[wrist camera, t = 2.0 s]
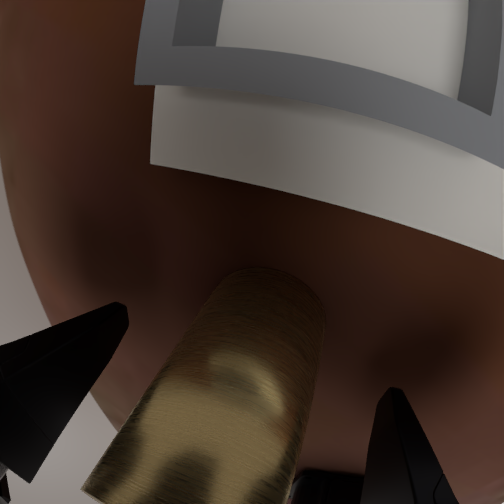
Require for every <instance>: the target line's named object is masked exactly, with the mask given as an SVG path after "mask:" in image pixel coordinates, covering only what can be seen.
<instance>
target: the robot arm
mask: <svg viewBox="0 0 504 504" xmlns="http://www.w3.org/2000/svg"><path fill="white" fill-rule="evenodd" d="M128 326H129V319H128V312H127V307H126V306H125V305H123V304H121V303H119V302H113V303H110V304H108V305H105V306H103V307H100V308H98V309H95V310H92V311H90V312H87V313H85V314H82V315H80V316H77V317H75V318H72V319H69V320H67V321H64V322H62V323H59V324H57V325H54V326H52V327H49V328H47V329H44V330H42V331H39V332H36V333H34V334H32V335H29V336H26V337H24V338H21V339H18V340H16V341H13V342H10V343H7V344H4V345H1V346H0V504H9V502H10V501H11V499H10V494H9V488H8V482H7V476H6V472H7V470H8V469H10V470H11V471H13V472H14V473H15V474H17V475H18V476H19V477H21V478H22V479H24V480H25V481H26V482H28V483H31V481H32V480H33V478H34V476H35V475H36V473H37V472H38V470H39V468H40V467H41V465H42V463H43V462H44V460H45V458H46V457H47V455H48V453H49V452H50V450H51V449H52V447H53V446H54V444H55V442H56V441H57V439H58V437H59V436H60V434H61V433H62V431H63V430H64V428H65V426H66V425H67V423H68V422H69V420H70V419H71V417H72V416H73V414H74V413H75V411H76V410H77V408H78V407H79V405H80V404H81V402H82V401H83V399H84V398H85V396H86V395H87V393H88V392H89V390H90V389H91V387H92V386H93V385H94V383H95V382H96V380H97V379H98V377H99V376H100V374H101V373H102V372H103V370H104V369H105V367H106V366H107V364H108V363H109V361H110V359H111V358H112V356H113V354H114V352H115V351H116V349H117V347H118V345H119V343H120V341H121V340H122V338H123V336H124V334H125V333H126V331H127V329H128ZM289 498H291V499H292V501H291V504H459V503H458V501H457V499H456V497H455V495H454V494H453V491H452V489H451V487H450V485H449V483H448V481H447V479H446V477H445V474H443V470H442V468H441V466H440V464H439V462H438V459H437V457H436V455H435V453H434V451H433V449H432V447H431V445H430V443H429V441H428V439H427V437H426V435H425V433H424V431H423V429H422V427H421V425H420V423H419V421H418V419H417V417H416V415H415V413H414V411H413V409H412V407H411V405H410V403H409V402H408V400H407V398H406V396H405V394H404V392H403V390H402V389H400V388H395V387H390V388H389V389H388V390H387V391H386V392H385V394H384V395H383V396H382V398H381V399H380V400H379V402H378V404H377V408H376V413H375V418H374V423H373V428H372V432H371V437H370V442H369V447H368V454H367V462H366V470H365V477H364V479H360V478H352V477H345V476H339V475H333V474H327V473H321V472H316V471H311V470H305V471H302V472H301V473H300V474H299V475H298V477H297V478H296V479H295V480H294V481H293V484H292V487H291V491H290V494H289Z"/></svg>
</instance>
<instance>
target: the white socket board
mask: <svg viewBox="0 0 504 504" xmlns="http://www.w3.org/2000/svg"><path fill="white" fill-rule="evenodd" d="M134 85H155V95H154V107H153V119H152V135H151V154H150V164H154V165H159V166H165V167H171V168H176V169H182V170H187V171H192V172H197V173H202V174H208V175H212V176H217V177H222V178H227V179H232V180H236V181H241V182H245V183H250V184H254V185H259V186H263V187H267V188H272V189H276V190H280V191H284V192H288V193H292V194H296V195H300V196H304V197H308V198H312V199H316V200H320V201H324V202H327V203H331V204H335V205H338V206H342V207H346V208H349V209H353V210H356V211H360V212H363V213H367V214H370V215H374V216H377V217H380V218H384V219H387V220H390V221H394V222H397V223H400V224H403V225H406V226H410V227H413V228H416V229H419V230H422V231H425V232H428V233H431V234H434V235H437V236H440V237H443V238H446V239H449V240H452V241H455V242H457V243H460V244H463V245H466V246H469V247H471V248H474V249H477V250H480V251H482V252H485V253H488V254H490V255H493V256H495V257H498V258H501V259H503V260H504V0H146V2H145V8H144V13H143V19H142V25H141V31H140V38H139V45H138V52H137V60H136V69H135V79H134Z"/></svg>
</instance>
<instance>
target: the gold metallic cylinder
mask: <svg viewBox="0 0 504 504" xmlns="http://www.w3.org/2000/svg"><path fill="white" fill-rule="evenodd" d="M325 327H326V316H325V311H324V309H323V306H322V304H321V302H320V300H319V298H318V297H317V296H316V294H315V293H314V292H313V291H312V290H311V289H310V288H309V287H308V286H307V285H306V284H304V283H303V282H302V281H300V280H299V279H297V278H295V277H294V276H292V275H289V274H287V273H285V272H282V271H279V270H275V269H270V268H262V267H256V268H246V269H242V270H238V271H236V272H233V273H231V274H230V275H228V276H226V277H225V278H224V279H223V280H222V281H221V282H220V283H219V284H218V285H217V287H216V288H215V290H214V291H213V293H212V294H211V296H210V297H209V298H208V300H207V301H206V303H205V304H204V306H203V307H202V309H201V310H200V312H199V313H198V315H197V316H196V317H195V319H194V320H193V322H192V323H191V325H190V326H189V328H188V329H187V331H186V332H185V334H184V335H183V337H182V338H181V339H180V341H179V342H178V344H177V345H176V347H175V348H174V350H173V351H172V353H171V354H170V356H169V357H168V359H167V360H166V362H165V363H164V365H163V366H162V367H161V369H160V370H159V372H158V373H157V375H156V376H155V378H154V379H153V381H152V382H151V384H150V385H149V387H148V388H147V390H146V391H145V393H144V394H143V396H142V397H141V399H140V400H139V402H138V403H137V405H136V406H135V408H134V409H133V411H132V412H131V414H130V415H129V417H128V418H127V420H126V421H125V423H124V424H123V426H122V427H121V429H120V430H119V432H118V433H117V435H116V437H115V438H114V439H113V441H112V442H111V444H110V445H109V447H108V448H107V450H106V451H105V453H104V454H103V456H102V457H101V459H100V460H99V462H98V463H97V465H96V466H95V468H94V469H93V471H92V473H91V474H90V475H89V477H88V478H87V480H86V482H85V483H84V485H83V486H82V488H81V490H82V491H83V492H84V493H86V494H87V495H88V496H90V497H91V498H92V499H94V500H95V501H97V502H99V503H100V504H287V501H288V498H289V494H290V491H291V487H292V484H293V480H294V476H295V472H296V469H297V465H298V461H299V457H300V453H301V449H302V445H303V441H304V436H305V432H306V428H307V423H308V419H309V414H310V410H311V405H312V400H313V395H314V390H315V385H316V380H317V374H318V369H319V364H320V358H321V352H322V346H323V340H324V334H325Z"/></svg>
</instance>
